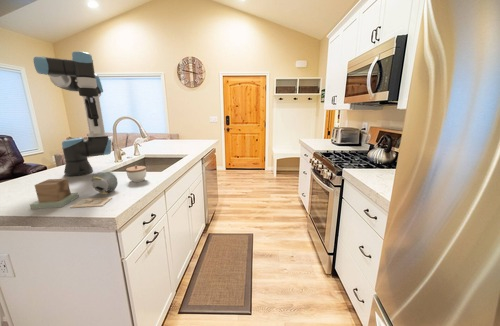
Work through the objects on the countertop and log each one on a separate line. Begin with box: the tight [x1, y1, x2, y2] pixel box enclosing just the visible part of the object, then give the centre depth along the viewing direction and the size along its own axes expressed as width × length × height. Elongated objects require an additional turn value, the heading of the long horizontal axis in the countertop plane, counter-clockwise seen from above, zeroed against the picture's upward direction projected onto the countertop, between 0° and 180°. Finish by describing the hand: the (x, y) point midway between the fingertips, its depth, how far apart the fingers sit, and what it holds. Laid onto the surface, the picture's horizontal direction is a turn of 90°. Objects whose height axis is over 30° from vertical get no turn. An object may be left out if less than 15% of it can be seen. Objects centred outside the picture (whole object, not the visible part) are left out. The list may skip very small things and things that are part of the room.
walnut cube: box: [34, 178, 72, 202], centre depth 99 cm, size 8×8×8 cm
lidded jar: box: [125, 165, 147, 183], centre depth 129 cm, size 11×11×9 cm
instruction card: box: [69, 196, 113, 209], centre depth 99 cm, size 9×13×1 cm
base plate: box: [29, 192, 79, 210], centre depth 100 cm, size 12×12×2 cm
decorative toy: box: [91, 172, 119, 195], centre depth 109 cm, size 12×10×20 cm
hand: (95, 132), depth 109 cm, fingers open, 13 cm apart
